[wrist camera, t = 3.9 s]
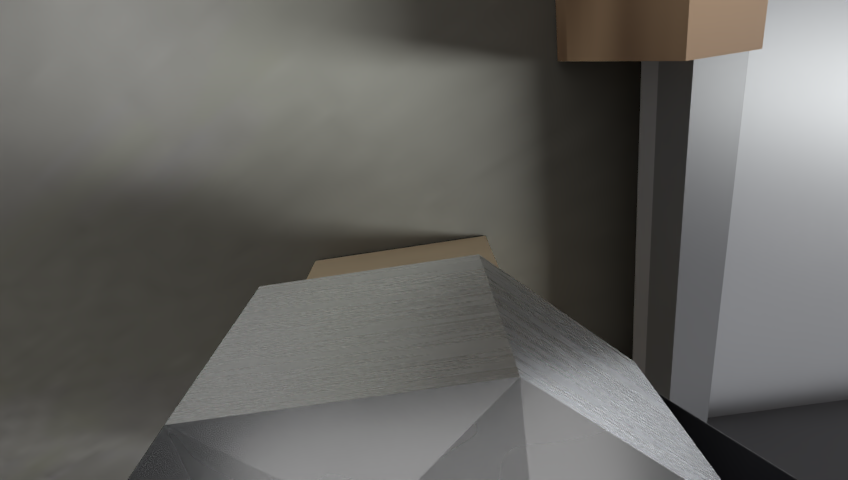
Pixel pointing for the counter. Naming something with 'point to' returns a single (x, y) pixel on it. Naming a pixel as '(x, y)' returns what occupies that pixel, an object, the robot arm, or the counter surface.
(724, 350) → the tray
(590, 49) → the block
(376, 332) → the octagonal prism
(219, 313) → the counter surface
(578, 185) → the counter surface
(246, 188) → the counter surface
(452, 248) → the block
